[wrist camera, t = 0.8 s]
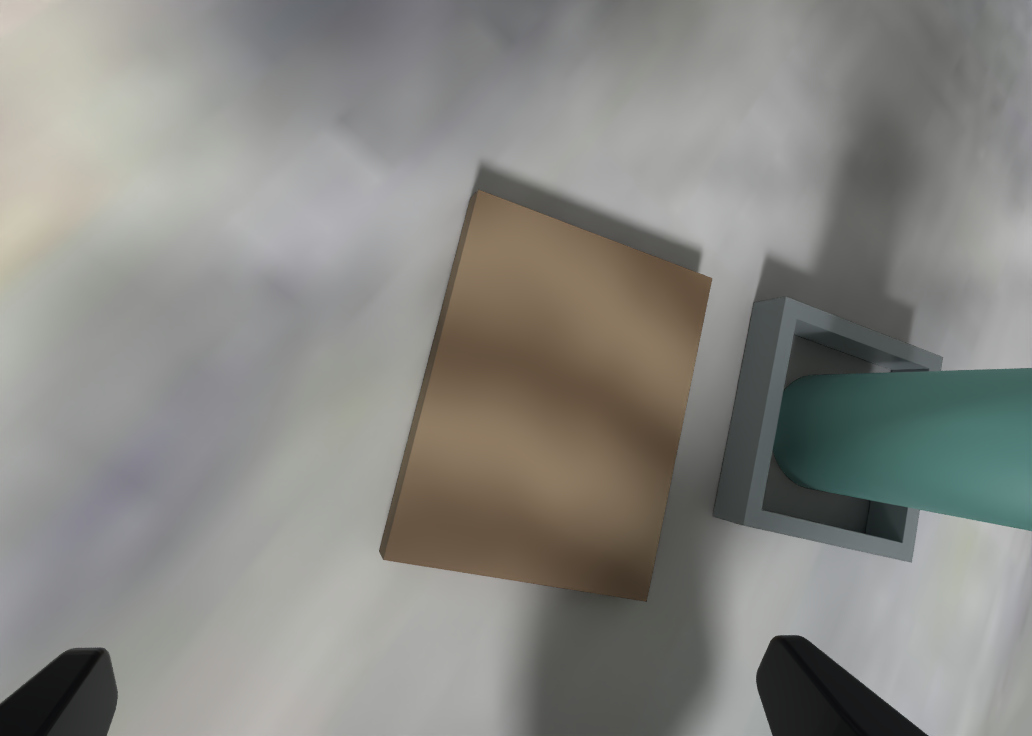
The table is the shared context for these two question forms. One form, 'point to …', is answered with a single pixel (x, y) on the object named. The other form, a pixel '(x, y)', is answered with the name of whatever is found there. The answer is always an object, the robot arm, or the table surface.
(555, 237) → the pad
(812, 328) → the tray
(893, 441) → the canister
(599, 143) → the table surface
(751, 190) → the table surface
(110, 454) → the table surface
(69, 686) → the robot arm
